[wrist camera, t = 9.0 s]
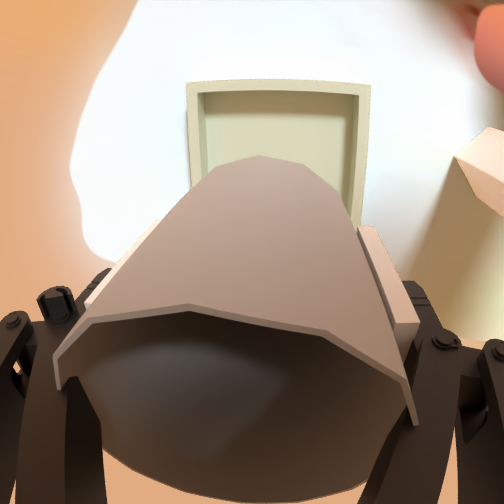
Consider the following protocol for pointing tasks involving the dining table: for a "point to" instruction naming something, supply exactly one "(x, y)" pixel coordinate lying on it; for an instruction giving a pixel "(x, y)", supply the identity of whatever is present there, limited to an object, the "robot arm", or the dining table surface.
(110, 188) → the dining table surface
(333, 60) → the dining table surface
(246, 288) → the cup
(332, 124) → the bin
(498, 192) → the milk
